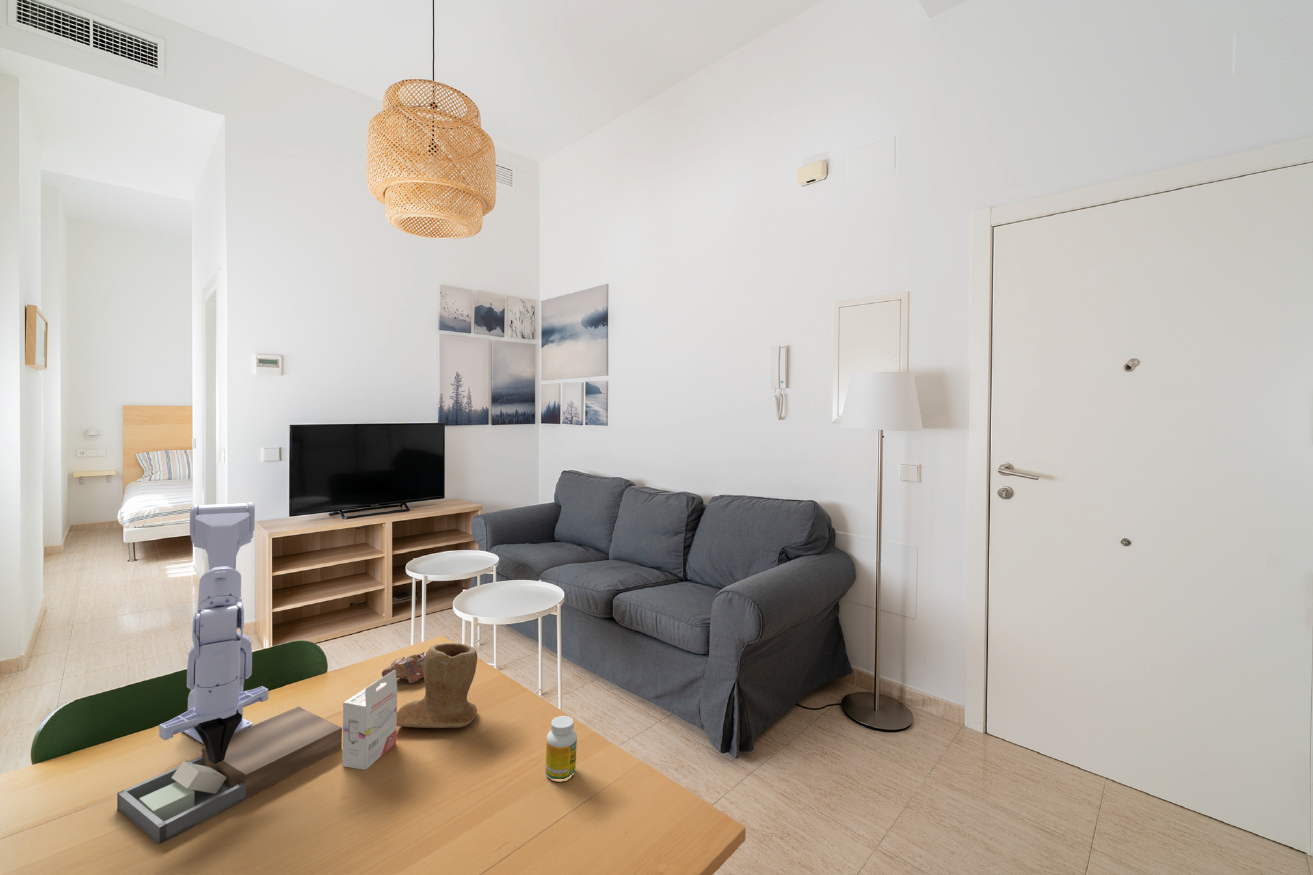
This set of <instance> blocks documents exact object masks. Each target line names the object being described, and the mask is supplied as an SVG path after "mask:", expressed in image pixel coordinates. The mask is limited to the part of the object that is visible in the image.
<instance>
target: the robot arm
mask: <svg viewBox="0 0 1313 875" xmlns="http://www.w3.org/2000/svg"><path fill="white" fill-rule="evenodd" d="M189 513H190V514H189V535H190V539H191V543H192V544H193V547H194V548H198V549H201V550H205V552H206V554H207V560H208V571H206V572H205V573H204V574H202V575H201V577H200V579H199V584H198V595H197V596H198V598H197V612H196V613H194V615H193V617H192V618H193V619H192V628H191V629H192V630H191V634H192V635H191V636H192V637H191V638H192V639H191V640H192V643H193V644H192V646H191V647H190V649H189V651H188V658H187V665H186V688H188V689H189V690H190V691H189V693H188V696H187V711H185V712H183V713H181V714H179V715H177V716H175V717H174V718H172V719H169V720H168V721H165V722H163V723H160V724H158V725H159V726H158V728H159V729H158V730H159V731H158V732H159V733H158V734H159V735H158V737H159V738H161V739H162V740H164V741H167V740H170V739H172V738H173V737H174V735H176V734H179V733H185V734H186V735H188V736H190V737H191V738H193V739H195V741H197V742H199V743H201V745H202V744H203V745H204V746H205V748H206V751H207V754H208V759H209V761H210V762H212V763H213V764H217V763H219V762H221V761H223V760H224V758H225V755H226V751H227V748H228V745H229V743H230V740H231V738H232V736H233V734H235V733H237V732H239V731H242V730H244V729H247V728H249V727H251V726H254V724H253V723H254V722H252V721H249V720H248V719H246V718H244V717H243V715H244V708H246V707H248V706H251V705H254V704H256V703H260V702H261V703H263V702H266V701H268V700H269V689H268V688H267V687H265V686H263V685H262V686H259V687H256V688H253V689H249V690H248V689H247V690H245V691H244V685H245V680H247V679H249V678H250V677H251V676H252V673H253V648H252V639H250V636H248V635H246V634H244V632H245V631H244V630H245V629H244V628H245V627H244V626H245V625H244V624H245V609H244V606H243V598H242V575H241V572H240V571H238V570H237V555H238V554H239V551H240V549H241V547H242V546H246V545H248V544H250V543H251V542H252V539H253V538H254V532H255V527H256V526H255V522H256V521H255V520H256V519H255V518H256V505H255V504H254V503H253V502H252V501H249V502H241V503H222V504H221V503H219V504H218V503H217V504H194V505H193V506H191V507H190V512H189ZM238 629H239V630H240V631H238Z"/></svg>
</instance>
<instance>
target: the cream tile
mask: <svg viewBox="0 0 1313 875" xmlns="http://www.w3.org/2000/svg"><path fill="white" fill-rule="evenodd" d="M188 762H189V761H184V760H183V761H182V762H181V764H180V765H178V766H179V768H178V769H177V771H176V772H175V773H174V775H173V776H172V779H174V780H175V781H177V782H178V783H180V784H181V785H183V786H184V787H186V788H187V789H192V790H198V791H203V792H208V793H214V794H216V793H217V791H218V790H219V788H220V787H221V785H222V784H223V782H224V781H225V779H226V778H227V777H225V776H224V775H222V774H221V773H219V772H217V771H216V770H214V769H212V768H211V767H207V766H202V765H197V764H193V763H188Z"/></svg>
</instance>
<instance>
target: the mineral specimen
mask: <svg viewBox="0 0 1313 875" xmlns="http://www.w3.org/2000/svg"><path fill="white" fill-rule="evenodd" d="M427 652H428V650H427V651H423V652H422V653H418V654H412V655H409V656H406V657H405V656H401V658H396V659H395V660H393V662H392V663H391V664H390V665H389V666H387V667H386V668H384V669H382V671H381V676H382V677H384V676H385V675H387V674H389V673H390V672H392V671H393V670H396V679H403V680H407V681H408V684H410V685H411V684H414V683H417V682H419V681H420V680H421V679H424V673H423V672H424V660H425V656H426V654H427ZM382 677H381V678H382Z"/></svg>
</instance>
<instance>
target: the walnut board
mask: <svg viewBox="0 0 1313 875" xmlns="http://www.w3.org/2000/svg"><path fill="white" fill-rule="evenodd" d="M201 750H202V751H201V756H203V757H204V766H207V767H211V768H212V769H214V770H216V771H217V772H219V773H221V774H222V775H224V776H225V777H227V778H226V779H225V781H224V783H226V784H227V785H229V786H230V787H232V788H233V787H235V786H237V785H239V784H241V783H245V784H246V795H245V800H246V799H249V798H250V797H252V796H254V795H256V794H258V793H260V792H261V791H263V790H265V789H267V788H269V787H271V786H273V785H275V784H277V783H279V782H281V781H283V780H284V779H287V778H288V777H290V776H293V775H294V774H296V773H299V772H300V771H301V770H303V769H306V768H307V767H309V766H311V765H312V764H313V765H314V763H317V762H319V761H321V760H323V759H325V758H326V757H328V756H330V755H332V754H334V753H336V752H338V751H339V750H343V726H340V725H337V724H336V723H333V722H331V721H329V720H327V719H325V718H323V717H321V716H319V715H317V714H315V713H313V712H312V711H311V712H310V711H309V710H307V709H304V708H302V707H300V706H296V707H294V708H291V709H288V710H287V711H285V712H282V713H280V714H278V715H275V716H273V717H270V718H268V719H266V720H263V721H261V722H259V723H256V724H253V725H252V726H251V727H248V728H246V729H244V730H241V731H239V732H237V733H234V734H233V736H232V738H231V740H230V743H229V745H228V748H227V751H226V755H225V758H224V760H223V761H221V762H219V763H217V764H213V763H212V762H210V761H209V759H208V754H207V751H206V748H205V745H204V746H202V748H201Z"/></svg>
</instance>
